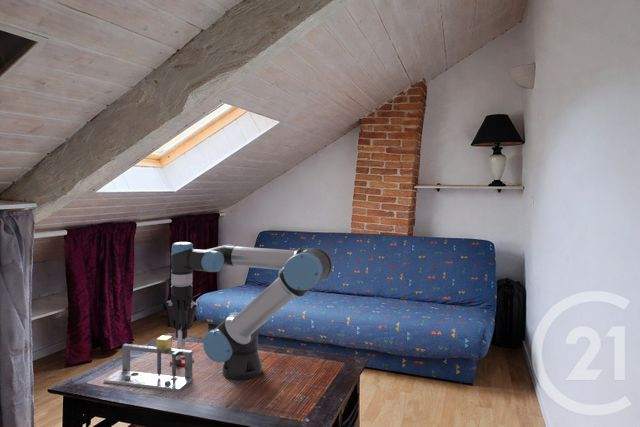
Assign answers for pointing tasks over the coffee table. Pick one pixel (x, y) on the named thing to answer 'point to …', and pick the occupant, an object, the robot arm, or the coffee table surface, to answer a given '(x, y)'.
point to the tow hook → (180, 359)
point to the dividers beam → (173, 352)
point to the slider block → (162, 344)
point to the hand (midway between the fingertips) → (181, 346)
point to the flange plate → (148, 380)
